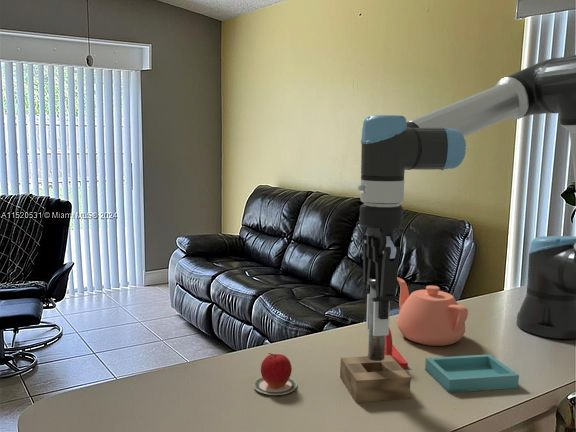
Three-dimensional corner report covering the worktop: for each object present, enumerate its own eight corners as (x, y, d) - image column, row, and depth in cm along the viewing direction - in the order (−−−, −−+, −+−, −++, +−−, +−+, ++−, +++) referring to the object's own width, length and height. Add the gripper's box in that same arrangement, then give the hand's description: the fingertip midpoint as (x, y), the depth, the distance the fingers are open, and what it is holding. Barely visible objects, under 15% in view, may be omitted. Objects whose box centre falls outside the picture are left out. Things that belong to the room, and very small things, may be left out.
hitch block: (389, 374, 106) (390, 355, 105) (409, 398, 96) (410, 377, 95) (340, 377, 104) (340, 357, 103) (355, 402, 94) (356, 380, 94)
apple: (245, 384, 100) (245, 351, 99) (279, 374, 105) (280, 342, 104) (270, 401, 94) (270, 366, 93) (305, 389, 99) (306, 355, 98)
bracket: (407, 368, 109) (409, 331, 108) (385, 369, 108) (387, 331, 107) (389, 346, 121) (391, 312, 120) (370, 346, 120) (371, 312, 119)
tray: (488, 365, 111) (489, 354, 110) (517, 387, 101) (519, 375, 101) (425, 369, 108) (425, 358, 108) (448, 392, 98) (449, 379, 98)
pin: (382, 352, 102) (385, 276, 99) (390, 361, 98) (393, 281, 95) (362, 354, 101) (364, 277, 99) (369, 362, 97) (372, 282, 95)
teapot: (372, 327, 132) (374, 278, 131) (417, 318, 140) (419, 272, 138) (440, 359, 114) (443, 302, 112) (487, 346, 122) (491, 293, 120)
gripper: (347, 199, 102) (345, 318, 106) (376, 210, 87) (372, 349, 90) (385, 198, 104) (381, 316, 107) (420, 209, 88) (414, 346, 91)
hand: (377, 331), depth 98 cm, fingers closed on pin, 3 cm apart
